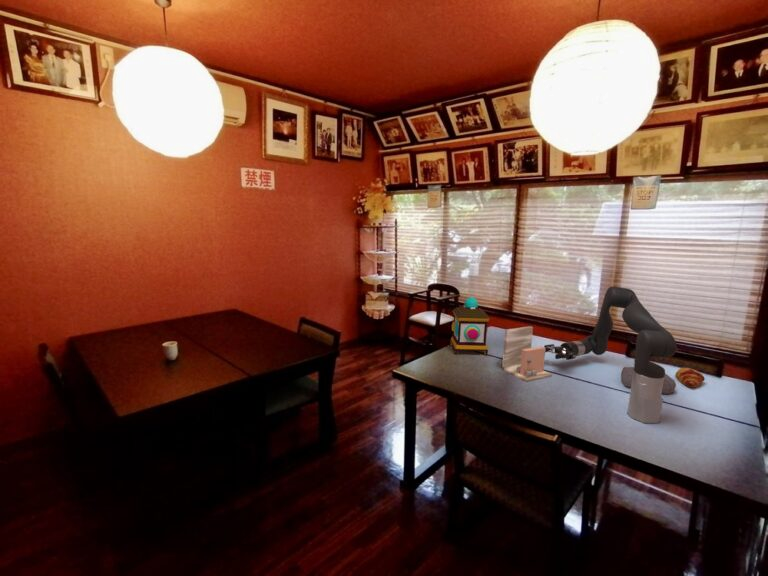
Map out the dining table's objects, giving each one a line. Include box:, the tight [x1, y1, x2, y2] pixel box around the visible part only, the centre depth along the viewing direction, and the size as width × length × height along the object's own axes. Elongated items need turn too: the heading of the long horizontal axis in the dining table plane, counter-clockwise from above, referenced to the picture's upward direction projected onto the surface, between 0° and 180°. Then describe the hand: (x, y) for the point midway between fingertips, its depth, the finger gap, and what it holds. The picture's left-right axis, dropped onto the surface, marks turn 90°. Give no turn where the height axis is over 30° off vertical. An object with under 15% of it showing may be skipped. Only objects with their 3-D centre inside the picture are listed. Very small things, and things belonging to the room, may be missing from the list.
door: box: [520, 345, 546, 376], centre depth 173 cm, size 3×12×12 cm, turn 114°
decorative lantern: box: [450, 296, 491, 356], centre depth 204 cm, size 20×20×30 cm
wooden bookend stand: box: [501, 326, 553, 383], centre depth 175 cm, size 16×16×20 cm
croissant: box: [675, 366, 706, 388], centre depth 171 cm, size 21×10×8 cm, turn 146°
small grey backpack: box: [620, 366, 677, 395], centre depth 164 cm, size 15×8×20 cm
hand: (548, 353), depth 177 cm, fingers open, 8 cm apart
